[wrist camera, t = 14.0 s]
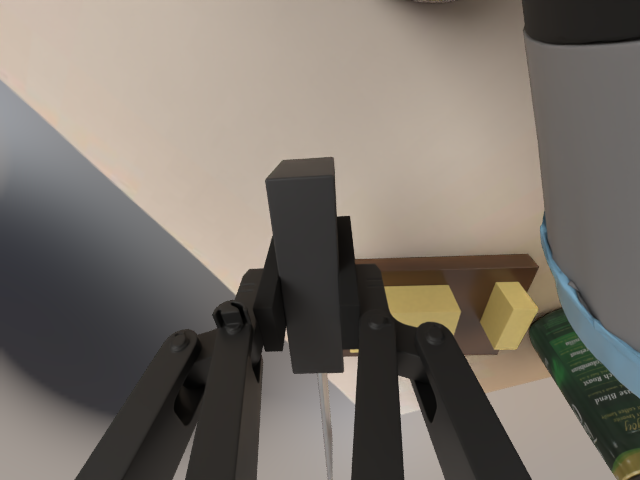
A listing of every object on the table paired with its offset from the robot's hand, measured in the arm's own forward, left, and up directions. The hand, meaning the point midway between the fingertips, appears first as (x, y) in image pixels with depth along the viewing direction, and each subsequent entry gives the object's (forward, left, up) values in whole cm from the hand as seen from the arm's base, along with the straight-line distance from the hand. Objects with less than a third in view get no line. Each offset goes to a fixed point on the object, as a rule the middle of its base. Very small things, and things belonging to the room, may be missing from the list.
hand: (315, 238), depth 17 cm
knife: (+6, 0, +2) cm, 6 cm away
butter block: (+15, +7, -8) cm, 18 cm away
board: (+17, +10, -10) cm, 22 cm away
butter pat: (+14, +18, -8) cm, 24 cm away
